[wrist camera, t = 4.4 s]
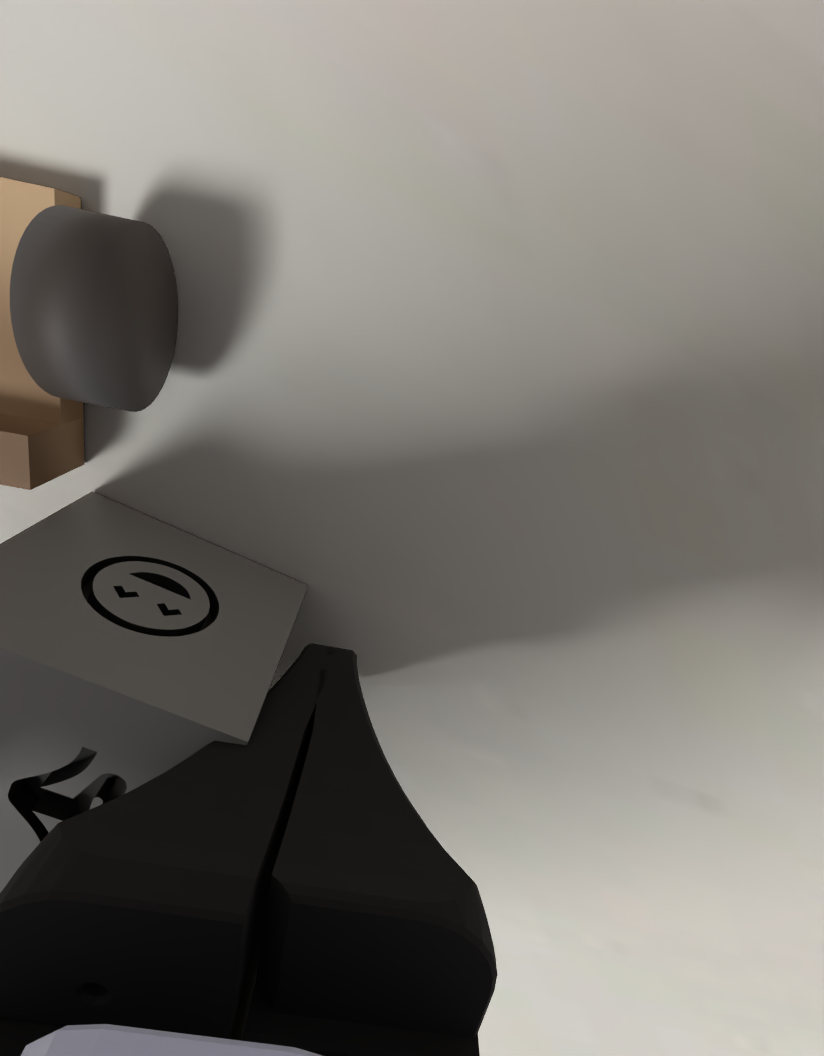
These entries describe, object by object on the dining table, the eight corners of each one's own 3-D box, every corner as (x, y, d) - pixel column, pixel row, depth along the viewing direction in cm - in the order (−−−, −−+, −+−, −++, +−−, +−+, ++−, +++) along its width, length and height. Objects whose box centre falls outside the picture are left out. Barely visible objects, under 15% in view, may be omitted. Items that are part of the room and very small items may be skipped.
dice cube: (232, 741, 15) (146, 945, 10) (38, 667, 14) (-155, 851, 9) (308, 585, 13) (248, 742, 8) (92, 491, 12) (-108, 606, 8)
